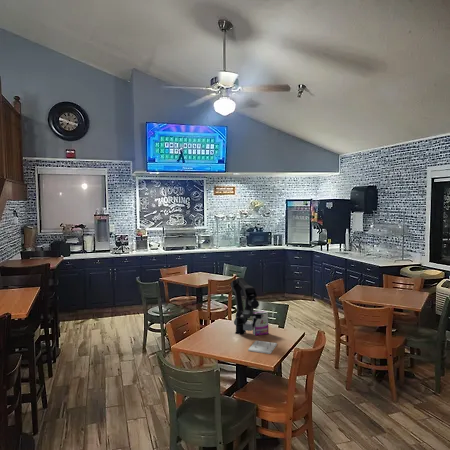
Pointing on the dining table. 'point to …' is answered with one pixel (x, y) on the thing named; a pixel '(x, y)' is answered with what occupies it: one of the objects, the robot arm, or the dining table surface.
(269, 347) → the tray
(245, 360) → the dining table surface
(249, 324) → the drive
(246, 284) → the robot arm
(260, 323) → the candy bar box
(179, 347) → the dining table surface
